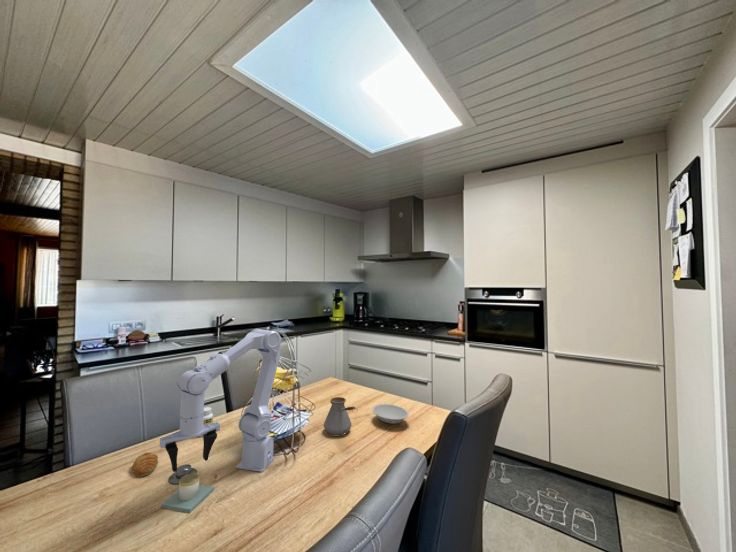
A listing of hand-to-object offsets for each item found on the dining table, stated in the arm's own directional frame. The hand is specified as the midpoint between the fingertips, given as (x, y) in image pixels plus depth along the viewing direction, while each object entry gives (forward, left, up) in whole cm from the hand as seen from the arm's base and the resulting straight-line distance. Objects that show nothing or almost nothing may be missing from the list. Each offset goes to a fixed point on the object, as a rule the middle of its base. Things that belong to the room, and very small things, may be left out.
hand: (190, 464), depth 84 cm
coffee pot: (-32, -43, -9) cm, 54 cm away
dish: (-49, -60, -9) cm, 78 cm away
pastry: (+24, -9, -10) cm, 27 cm away
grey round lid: (+9, -8, -9) cm, 15 cm away
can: (0, 0, -8) cm, 8 cm away
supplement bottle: (+22, -33, -9) cm, 41 cm away
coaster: (0, 0, -9) cm, 9 cm away
